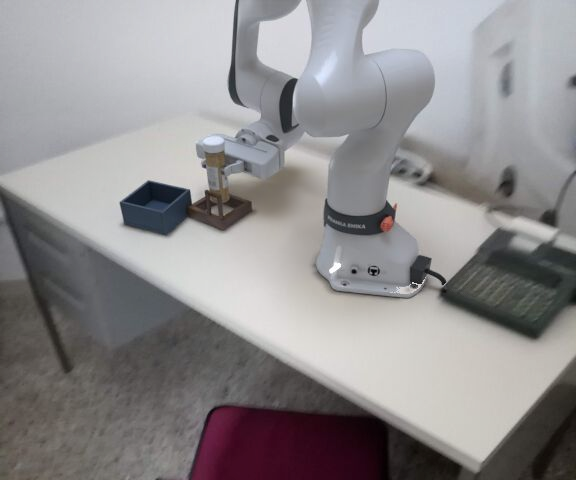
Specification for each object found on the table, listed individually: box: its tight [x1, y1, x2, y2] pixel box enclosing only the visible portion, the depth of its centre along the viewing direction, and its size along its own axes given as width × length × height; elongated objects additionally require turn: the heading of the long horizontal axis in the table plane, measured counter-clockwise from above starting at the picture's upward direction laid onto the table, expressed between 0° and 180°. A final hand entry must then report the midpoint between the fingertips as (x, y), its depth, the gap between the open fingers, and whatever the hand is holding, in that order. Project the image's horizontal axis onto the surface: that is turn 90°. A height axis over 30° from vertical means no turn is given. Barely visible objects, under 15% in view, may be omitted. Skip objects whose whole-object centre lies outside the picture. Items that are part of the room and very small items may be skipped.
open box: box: [118, 179, 193, 236], centre depth 133 cm, size 11×11×6 cm
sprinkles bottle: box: [203, 136, 230, 205], centre depth 129 cm, size 5×5×14 cm
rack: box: [187, 189, 253, 231], centre depth 133 cm, size 10×10×8 cm
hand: (213, 168), depth 128 cm, fingers closed on sprinkles bottle, 4 cm apart
